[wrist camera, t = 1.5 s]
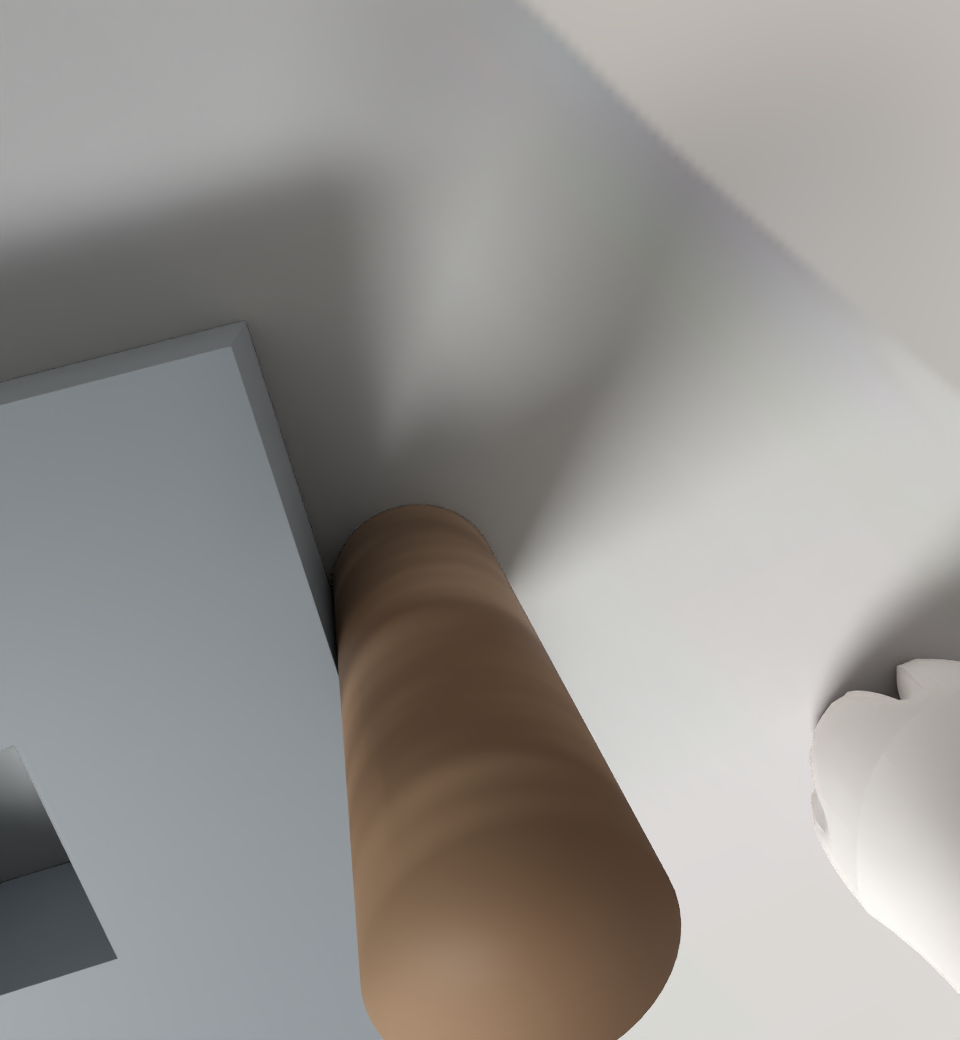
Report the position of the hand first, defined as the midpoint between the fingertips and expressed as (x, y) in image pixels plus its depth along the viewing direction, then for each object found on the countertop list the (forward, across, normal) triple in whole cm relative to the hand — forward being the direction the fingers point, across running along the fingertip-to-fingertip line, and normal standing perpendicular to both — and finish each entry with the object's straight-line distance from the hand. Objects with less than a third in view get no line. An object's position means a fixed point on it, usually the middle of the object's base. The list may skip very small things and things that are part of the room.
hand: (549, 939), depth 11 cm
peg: (+12, 0, 0) cm, 12 cm away
